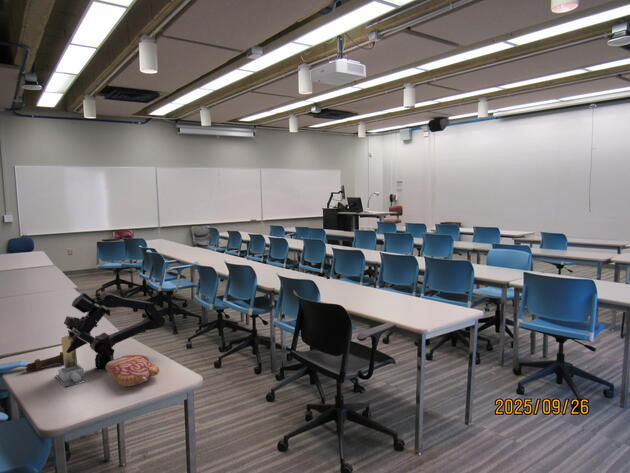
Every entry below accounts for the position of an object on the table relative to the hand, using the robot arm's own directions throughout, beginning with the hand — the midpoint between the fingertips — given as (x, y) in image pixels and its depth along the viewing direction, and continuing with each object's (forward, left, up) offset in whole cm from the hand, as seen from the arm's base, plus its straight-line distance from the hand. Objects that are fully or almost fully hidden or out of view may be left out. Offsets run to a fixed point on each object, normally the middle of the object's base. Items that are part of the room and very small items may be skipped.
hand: (65, 350), depth 176 cm
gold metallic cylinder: (-1, -1, -7) cm, 7 cm away
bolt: (+16, -12, -12) cm, 23 cm away
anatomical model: (-27, +1, -12) cm, 30 cm away
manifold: (-2, 0, -12) cm, 12 cm away
